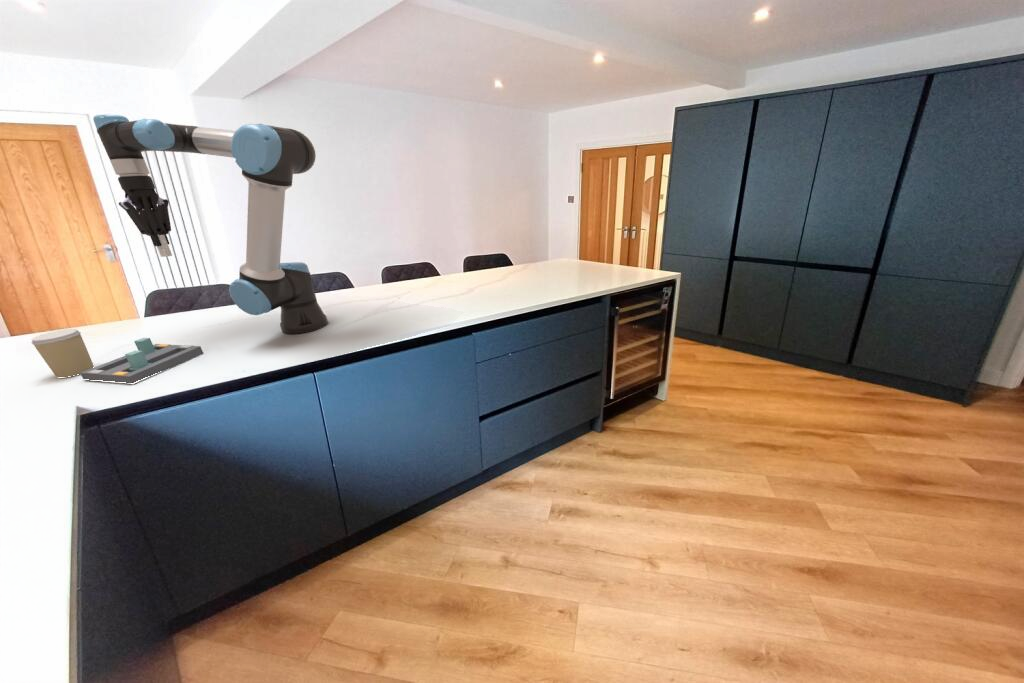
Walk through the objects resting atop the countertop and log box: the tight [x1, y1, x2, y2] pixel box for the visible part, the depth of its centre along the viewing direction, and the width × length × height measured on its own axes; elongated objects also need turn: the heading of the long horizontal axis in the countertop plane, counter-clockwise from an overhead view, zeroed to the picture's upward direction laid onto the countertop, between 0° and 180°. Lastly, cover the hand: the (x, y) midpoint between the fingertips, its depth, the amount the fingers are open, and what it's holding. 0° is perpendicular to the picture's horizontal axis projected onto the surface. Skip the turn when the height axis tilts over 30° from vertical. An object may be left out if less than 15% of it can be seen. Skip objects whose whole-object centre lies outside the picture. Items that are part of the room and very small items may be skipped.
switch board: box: [80, 343, 204, 383], centre depth 113 cm, size 18×20×3 cm
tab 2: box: [124, 350, 152, 373], centre depth 108 cm, size 3×4×5 cm
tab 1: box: [133, 337, 157, 355], centre depth 117 cm, size 3×4×5 cm
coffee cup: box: [31, 328, 95, 378], centre depth 111 cm, size 9×9×12 cm
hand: (166, 256), depth 123 cm, fingers closed
